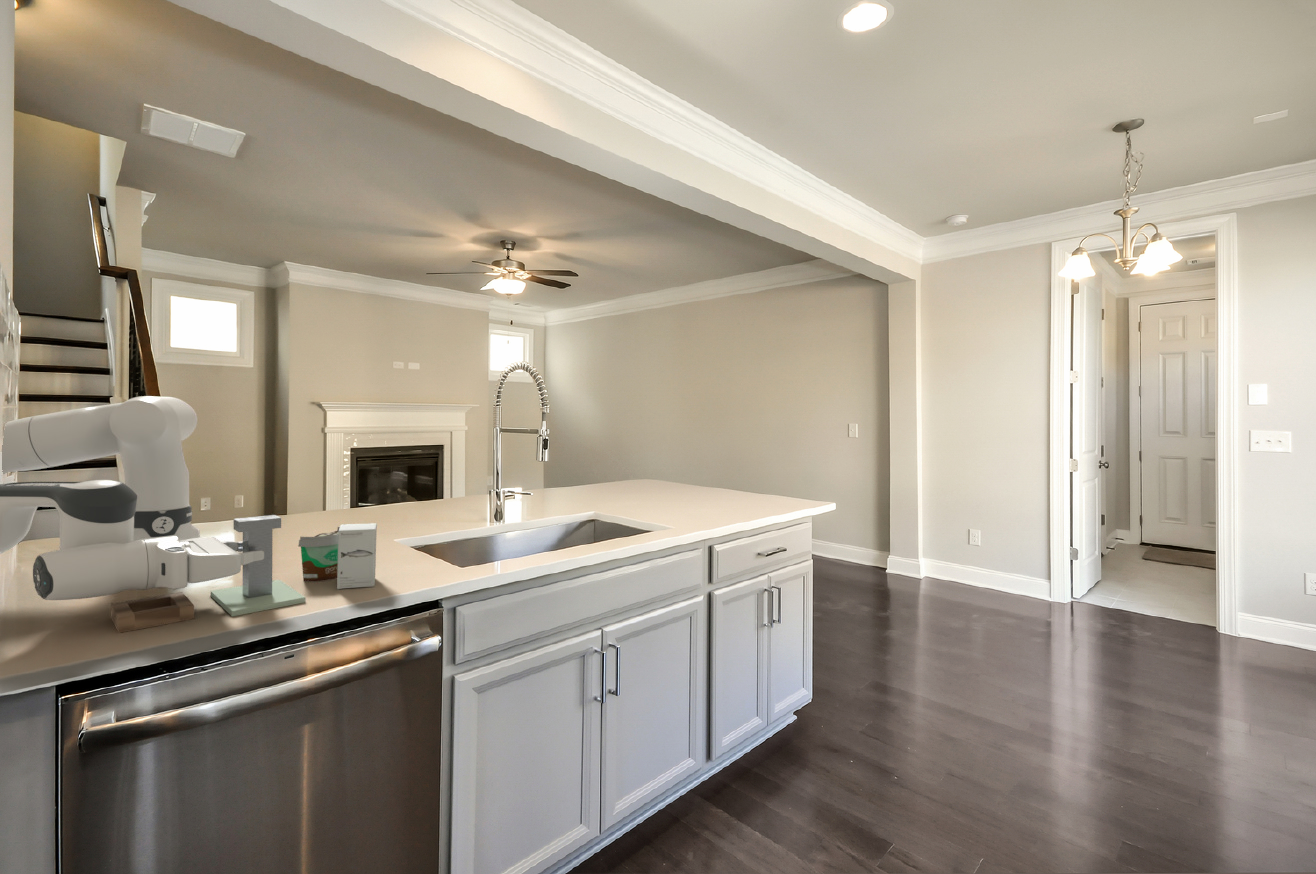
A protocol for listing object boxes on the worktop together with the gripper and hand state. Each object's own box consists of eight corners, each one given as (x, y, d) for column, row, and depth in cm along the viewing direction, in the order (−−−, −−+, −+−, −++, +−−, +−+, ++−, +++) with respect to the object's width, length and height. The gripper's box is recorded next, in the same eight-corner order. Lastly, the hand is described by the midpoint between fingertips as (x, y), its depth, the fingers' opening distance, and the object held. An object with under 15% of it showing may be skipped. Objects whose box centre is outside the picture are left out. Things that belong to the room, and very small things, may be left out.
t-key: (233, 595, 117) (233, 518, 117) (274, 588, 123) (274, 514, 122) (239, 600, 115) (239, 521, 114) (280, 592, 120) (281, 517, 119)
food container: (322, 585, 129) (323, 539, 128) (298, 583, 130) (298, 537, 129) (362, 570, 141) (362, 528, 140) (339, 568, 142) (339, 526, 141)
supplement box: (336, 590, 126) (336, 530, 125) (339, 580, 133) (339, 523, 132) (375, 587, 129) (376, 528, 128) (376, 577, 136) (377, 522, 135)
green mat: (210, 595, 120) (210, 590, 120) (279, 584, 129) (279, 579, 128) (232, 616, 109) (232, 611, 109) (305, 602, 118) (305, 597, 118)
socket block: (110, 617, 107) (110, 603, 106) (182, 605, 114) (182, 591, 114) (118, 632, 100) (118, 618, 100) (194, 618, 107) (193, 604, 107)
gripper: (154, 567, 115) (240, 555, 125) (177, 591, 101) (271, 576, 111) (154, 534, 114) (240, 525, 125) (177, 554, 101) (272, 542, 111)
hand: (255, 549), depth 118 cm, fingers open, 8 cm apart
